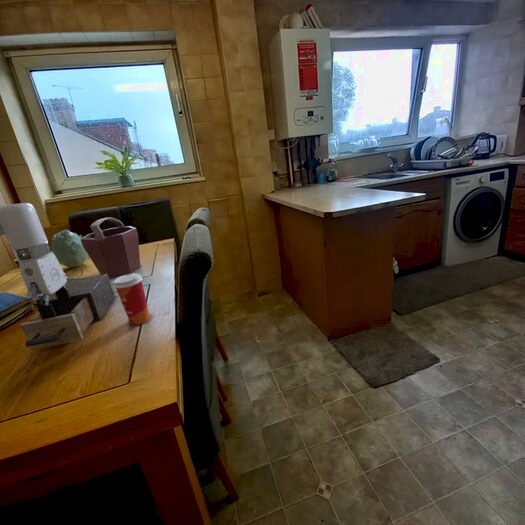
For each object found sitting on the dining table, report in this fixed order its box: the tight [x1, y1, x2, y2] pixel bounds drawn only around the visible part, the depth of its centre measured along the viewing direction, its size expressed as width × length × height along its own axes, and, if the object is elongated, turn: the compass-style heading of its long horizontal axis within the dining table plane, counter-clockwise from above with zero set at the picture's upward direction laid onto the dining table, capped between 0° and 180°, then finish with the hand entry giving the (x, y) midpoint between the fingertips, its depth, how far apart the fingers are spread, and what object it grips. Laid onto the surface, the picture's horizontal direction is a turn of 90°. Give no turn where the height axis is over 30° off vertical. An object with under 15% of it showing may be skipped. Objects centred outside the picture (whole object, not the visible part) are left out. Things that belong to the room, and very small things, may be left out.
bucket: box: [80, 216, 141, 278], centre depth 128 cm, size 24×22×25 cm
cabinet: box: [42, 274, 116, 322], centre depth 93 cm, size 17×14×10 cm
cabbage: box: [51, 229, 90, 268], centre depth 144 cm, size 16×19×20 cm
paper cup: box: [113, 273, 151, 326], centre depth 82 cm, size 8×8×14 cm
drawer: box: [20, 295, 96, 351], centre depth 78 cm, size 20×12×8 cm, turn 12°
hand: (58, 309), depth 78 cm, fingers open, 8 cm apart
